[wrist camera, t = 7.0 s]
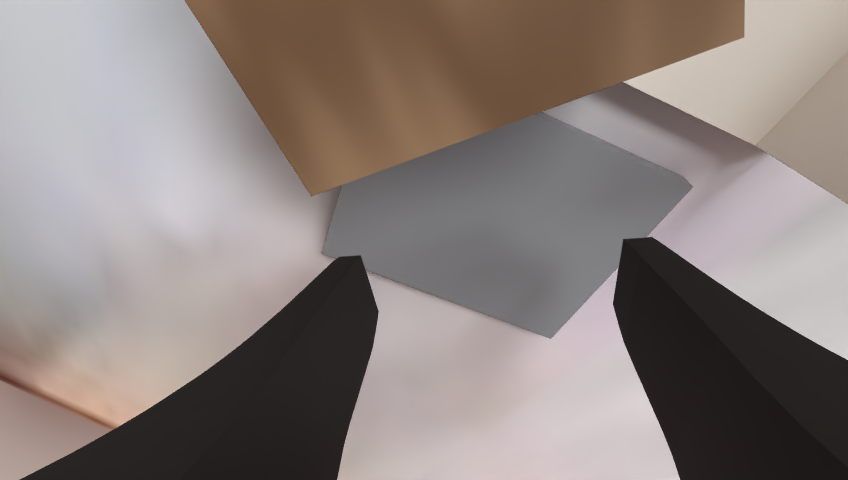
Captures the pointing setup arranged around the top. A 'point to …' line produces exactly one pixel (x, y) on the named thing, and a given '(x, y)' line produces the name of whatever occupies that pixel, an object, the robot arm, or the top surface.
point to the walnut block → (437, 67)
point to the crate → (774, 86)
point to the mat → (506, 219)
